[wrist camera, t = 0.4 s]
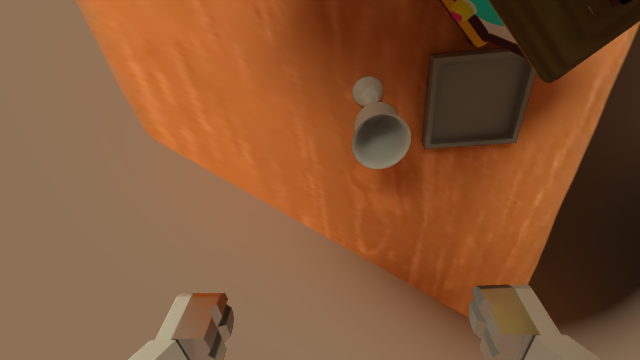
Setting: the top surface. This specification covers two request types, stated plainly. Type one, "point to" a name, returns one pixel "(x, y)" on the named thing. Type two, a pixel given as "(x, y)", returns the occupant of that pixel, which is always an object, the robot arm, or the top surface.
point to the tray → (476, 98)
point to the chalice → (377, 127)
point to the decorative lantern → (545, 28)
